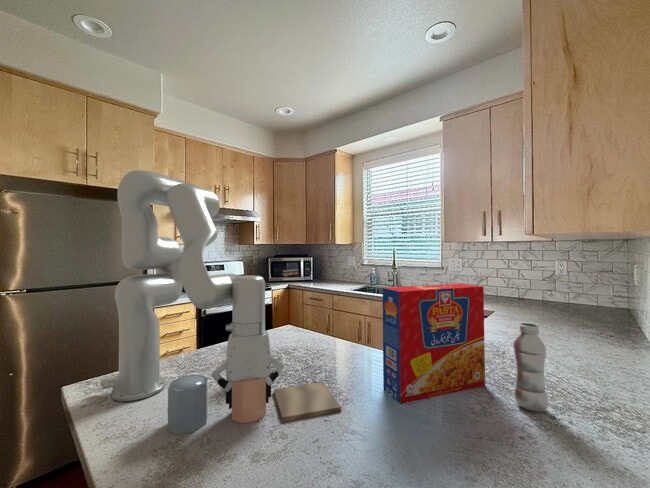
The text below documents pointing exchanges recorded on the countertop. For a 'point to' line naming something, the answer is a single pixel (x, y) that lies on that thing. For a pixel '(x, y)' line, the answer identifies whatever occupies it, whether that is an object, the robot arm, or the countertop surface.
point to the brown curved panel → (305, 401)
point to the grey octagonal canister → (187, 404)
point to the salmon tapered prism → (248, 400)
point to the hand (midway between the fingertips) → (248, 402)
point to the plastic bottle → (530, 369)
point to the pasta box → (432, 340)
